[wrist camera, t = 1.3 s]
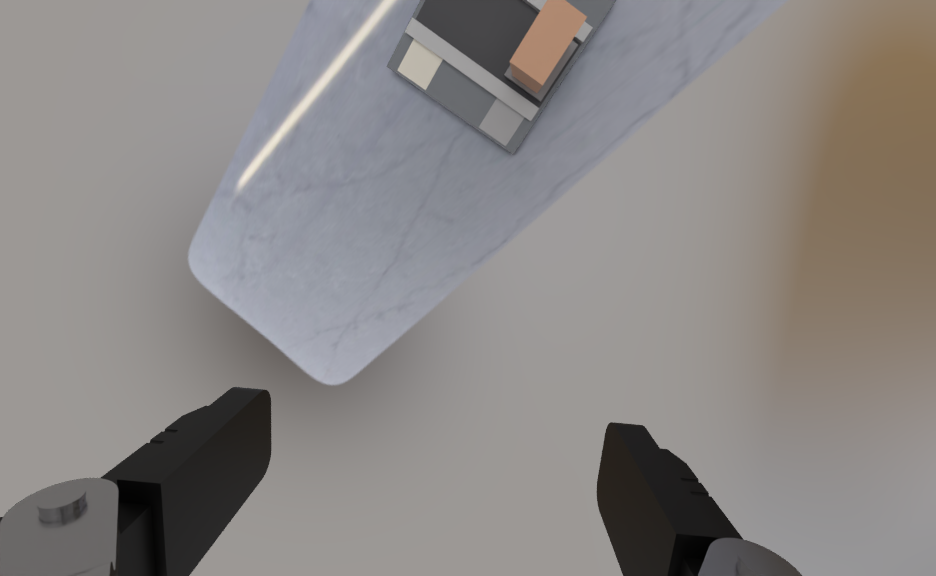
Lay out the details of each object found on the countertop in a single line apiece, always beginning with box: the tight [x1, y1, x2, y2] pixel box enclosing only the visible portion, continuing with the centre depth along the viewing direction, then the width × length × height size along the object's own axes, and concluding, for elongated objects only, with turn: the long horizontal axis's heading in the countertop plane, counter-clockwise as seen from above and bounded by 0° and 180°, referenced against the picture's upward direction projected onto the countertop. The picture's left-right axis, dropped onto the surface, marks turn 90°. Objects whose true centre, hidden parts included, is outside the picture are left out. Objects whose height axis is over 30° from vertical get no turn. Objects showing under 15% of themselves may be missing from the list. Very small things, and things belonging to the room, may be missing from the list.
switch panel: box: [387, 0, 616, 154], centre depth 31 cm, size 12×11×3 cm
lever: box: [504, 0, 587, 102], centre depth 26 cm, size 4×3×10 cm
